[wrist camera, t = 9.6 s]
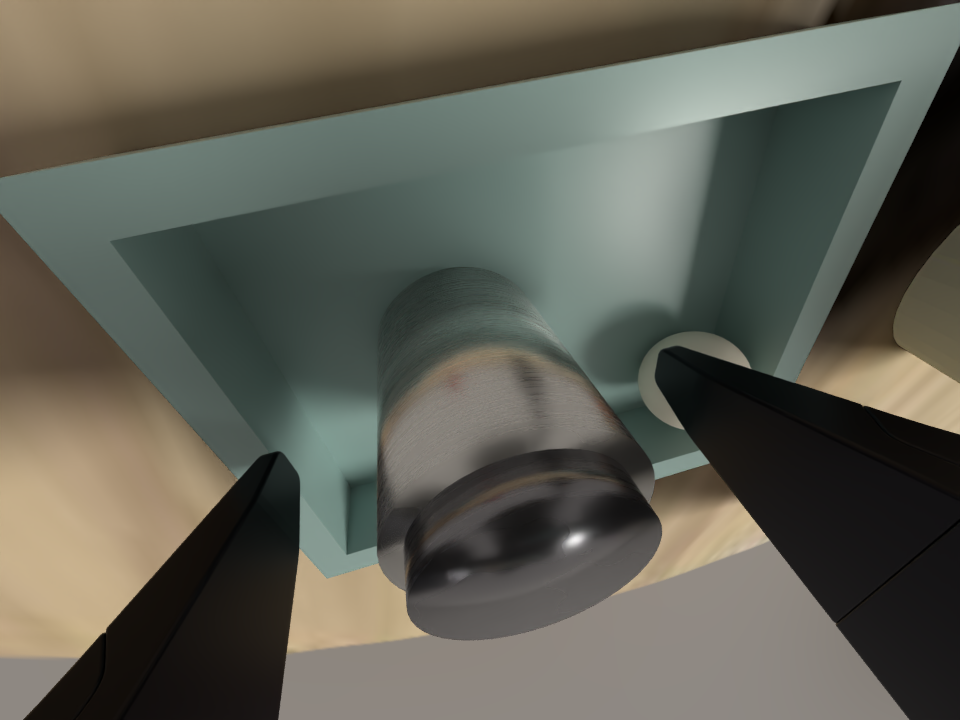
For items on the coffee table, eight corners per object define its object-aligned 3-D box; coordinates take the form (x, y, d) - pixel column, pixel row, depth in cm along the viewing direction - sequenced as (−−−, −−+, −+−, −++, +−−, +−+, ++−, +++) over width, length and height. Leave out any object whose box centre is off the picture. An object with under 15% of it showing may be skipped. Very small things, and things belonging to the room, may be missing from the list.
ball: (712, 304, 12) (799, 356, 10) (693, 376, 14) (761, 436, 12) (623, 326, 12) (689, 386, 10) (616, 397, 14) (669, 464, 11)
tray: (813, 27, 9) (981, -1, 6) (704, 393, 16) (763, 447, 14) (109, 155, 7) (-27, 182, 5) (335, 497, 14) (326, 578, 12)
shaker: (531, 249, 10) (721, 432, 4) (540, 384, 13) (660, 595, 7) (352, 290, 9) (317, 551, 4) (402, 420, 12) (422, 674, 7)
